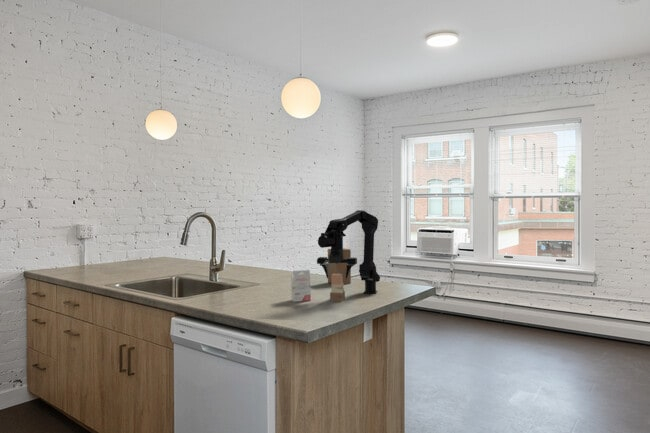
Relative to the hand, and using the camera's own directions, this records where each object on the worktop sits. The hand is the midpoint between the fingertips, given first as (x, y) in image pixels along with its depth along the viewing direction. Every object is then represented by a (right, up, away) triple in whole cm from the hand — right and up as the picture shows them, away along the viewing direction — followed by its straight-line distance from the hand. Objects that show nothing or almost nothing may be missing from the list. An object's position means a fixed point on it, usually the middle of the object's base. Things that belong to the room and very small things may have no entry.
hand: (337, 278), depth 223 cm
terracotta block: (0, -3, 0) cm, 3 cm away
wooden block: (+2, -9, +49) cm, 50 cm away
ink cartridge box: (-17, -11, 0) cm, 20 cm away
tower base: (0, -10, 0) cm, 11 cm away
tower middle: (0, -6, 0) cm, 6 cm away
